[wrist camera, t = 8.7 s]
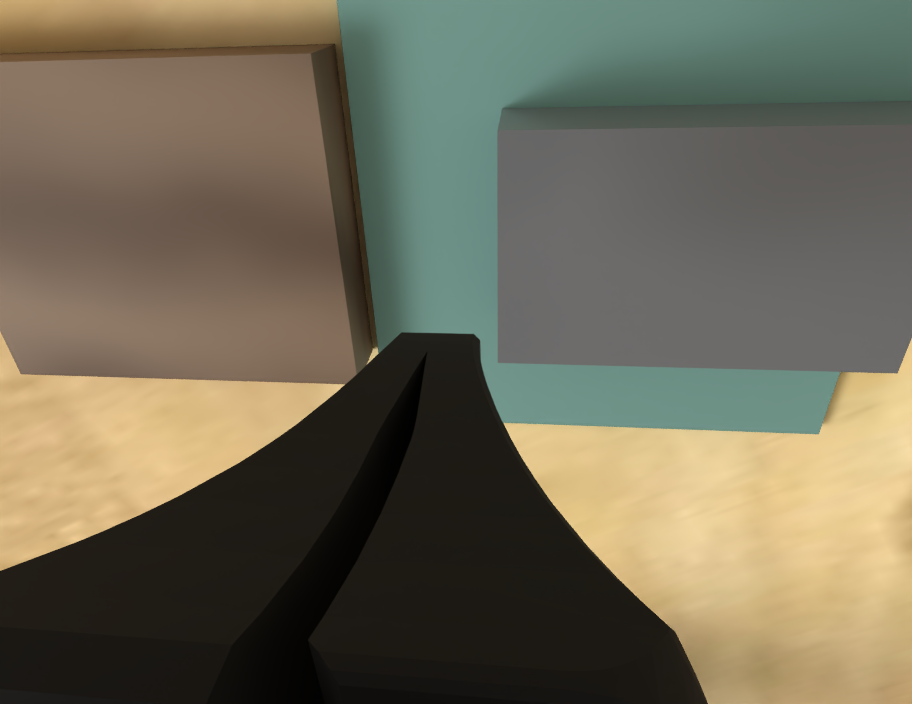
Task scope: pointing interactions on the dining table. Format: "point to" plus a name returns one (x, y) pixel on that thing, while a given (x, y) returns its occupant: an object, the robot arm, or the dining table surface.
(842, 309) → the slate tile
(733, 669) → the dining table surface
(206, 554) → the robot arm
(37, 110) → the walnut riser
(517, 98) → the teal mat
